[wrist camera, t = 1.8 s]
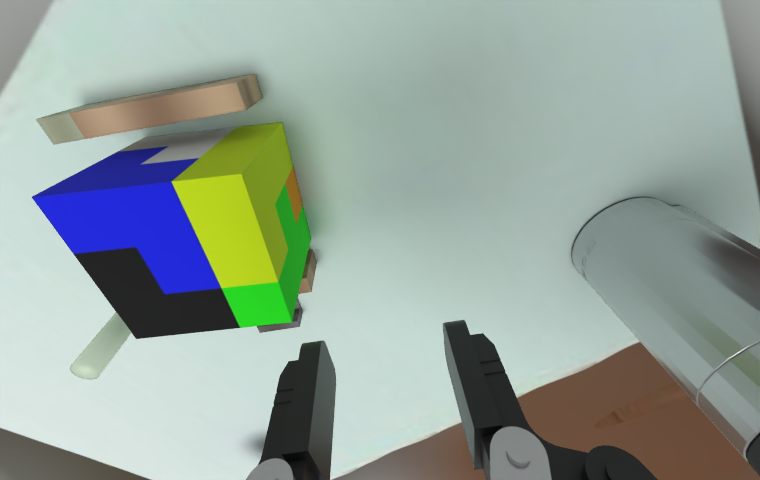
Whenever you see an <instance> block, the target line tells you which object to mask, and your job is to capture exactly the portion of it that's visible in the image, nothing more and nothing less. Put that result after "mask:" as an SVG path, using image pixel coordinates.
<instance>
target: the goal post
mask: <svg viewBox="0 0 760 480" xmlns="http://www.w3.org/2000/svg"><path fill="white" fill-rule="evenodd" d="M130 334H131V331H130V330H129V328H128V327H127V326H126V324H125V323H124V322H123V320H122V319H121V317H120V316H119V315H118V313H117V312H116V313H115V314H114V315H113V316H112V318H111V319H110V320H109V321H108V322H107V324H106V325H105V326H104V327H103V328H102V329H101V331H100V332H99V333H98V334H97V335H96V337H95V338H94V339H93V340H92V341H91V342H90V344H89V345H88V346H87V347H86V348H85V350H84V351H83V352H82V353H81V354H80V355H79V357H78V358H77V359H76V360H75V361H74V363H73V364H72V365H71V366H70V371H71V372H72V373H73V374H74V375H75V376H77V377H79V378H82V379H89V380H91V379H96V378H98V377H99V376H100V374H101V373H102V372H103V370H104V369H105V368H106V366H107V365H108V363H109V362H110V361H111V359H112V358H113V357H114V355H115V354H116V353H117V351H118V350H119V349H120V347H121V346H122V345H123V343H124V342H125V341H126V339H127V338H128V336H129V335H130Z"/></svg>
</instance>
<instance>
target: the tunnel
mask: <svg viewBox="0 0 760 480" xmlns="http://www.w3.org/2000/svg"><path fill="white" fill-rule="evenodd" d="M261 98H262V95H261V91H260V88H259V85H258V82H257V79H256V76H255V74H251V75H246V76H240V77H235V78H229V79H224V80H219V81H213V82H208V83H202V84H197V85H191V86H186V87H180V88H175V89H170V90H164V91H159V92H153V93H148V94H142V95H137V96H132V97H126V98H121V99H115V100H110V101H104V102H99V103H93V104H88V105H83V106H80V107H76V108H73V109H69V110H66V111H62V112H59V113H55V114H52V115H49V116H45V117H42V118H38V119H36V120H37V122H38V123H39V124H40V126H41V127H42V129H43V130H44V132H45V133H46V134H47V136H48V137H49V139H50V140H51V142H52V143H53V144H60V143H65V142H71V141H76V140H82V139H87V138H93V137H99V136H104V135H110V134H115V133H121V132H126V131H132V130H138V129H143V128H149V127H154V126H160V125H165V124H171V123H177V122H182V121H188V120H193V119H199V118H204V117H210V116H216V115H221V114H227V113H232V112H238V111H243V110H247V109H248V108H249V107H251V106H252V105H253V104H255V103H256V102H257V101H259V100H260V99H261ZM316 264H317V262H316V259H315V256H314V253H313V250H308V253H307V258H306V262H305V267H304V271H303V276H302V280H301V284H300V289H299V293H298V294H300V293H307V292H312V286H313V281H314V275H315V269H316ZM302 313H303V311H302V309H301V306H300V304H299V301H298V299H297V302H296V307H295V311H294V315H293V320H292V322H289V323H279V324H270V325H261V326H257V328H258V330H259V332H260V333H261V332H268V331H274V330H281V329H287V328H294V327H300V323H301V318H302Z"/></svg>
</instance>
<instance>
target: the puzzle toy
mask: <svg viewBox="0 0 760 480" xmlns="http://www.w3.org/2000/svg"><path fill="white" fill-rule="evenodd" d="M32 198H33V200H34V201H35V202H36V204H37V205H38V206H39V208H40V209H41V210H42V212H43V213H44V214H45V216H46V217H47V219H48V220H49V221H50V223H51V224H52V225H53V227H54V228H55V229H56V231H57V232H58V233H59V235H60V236H61V237H62V239H63V240H64V242H65V243H66V244H67V246H68V247H69V248H70V250H71V251H72V252H73V254H74V255H75V256H76V258H77V259H78V261H79V262H80V263H81V265H82V266H83V267H84V269H85V270H86V271H87V273H88V274H89V275H90V277H91V278H92V280H93V281H94V282H95V284H96V285H97V286H98V288H99V289H100V290H101V292H102V293H103V294H104V296H105V297H106V298H107V300H108V301H109V303H110V304H111V305H112V307H113V308H114V309H115V311H116V312H117V313H118V315H119V316H120V317H121V319H122V320H123V322H124V323H125V324H126V326H127V327H128V328H129V330H130V331H131V332H132V334H133V335H134V336H135V338H136V339H140V338H149V337H158V336H167V335H177V334H186V333H195V332H205V331H214V330H223V329H233V328H242V327H251V326H261V325H270V324H279V323H289V322H292V320H293V315H294V311H295V307H296V302H297V298H298V293H299V289H300V284H301V280H302V276H303V271H304V267H305V262H306V258H307V253H308V249H309V244H310V240H311V236H310V232H309V228H308V224H307V220H306V216H305V212H304V208H303V204H302V200H301V196H300V192H299V188H298V184H297V180H296V176H295V172H294V168H293V164H292V160H291V156H290V152H289V148H288V144H287V140H286V136H285V132H284V128H283V124H282V122H279V123H270V124H261V125H252V126H243V127H234V128H225V129H216V130H207V131H198V132H189V133H180V134H171V135H163V136H154V137H145V138H143V139H141V140H139V141H137V142H135V143H134V144H132V145H130V146H128V147H126V148H124V149H122V150H120V151H118V152H116V153H115V154H113V155H111V156H109V157H107V158H105V159H103V160H101V161H99V162H97V163H96V164H94V165H92V166H90V167H88V168H86V169H84V170H82V171H80V172H78V173H77V174H75V175H73V176H71V177H69V178H67V179H65V180H63V181H61V182H59V183H57V184H56V185H54V186H52V187H50V188H48V189H46V190H44V191H42V192H40V193H38V194H37V195H35V196H33V197H32Z"/></svg>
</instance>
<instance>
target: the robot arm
mask: <svg viewBox="0 0 760 480" xmlns="http://www.w3.org/2000/svg"><path fill="white" fill-rule="evenodd" d="M572 260H573V264H574V266H575V268H576V269H577V271H578V272H579V273H580V274H581V275H582V277H583V278H584V279H585V280H586V281H587V282H588V283H589V284H590V285H591V287H592V288H593V289H594V290H595V291H596V292H597V293H598V294H599V296H600V297H601V298H602V299H603V300H604V301H605V303H606V304H607V305H608V306H609V307H610V308H611V309H612V310H613V312H614V313H615V314H616V315H617V316H618V317H619V318H620V319H621V321H622V322H623V323H624V324H625V325H626V326H627V327H628V328H629V330H630V331H631V332H632V333H633V334H634V335H635V336H636V337H637V338H638V340H639V341H640V342H641V343H642V344H643V345H644V346H645V347H646V349H647V350H648V351H649V352H650V353H651V354H652V355H653V356H654V358H655V359H656V360H657V361H658V362H659V363H660V364H661V365H662V367H664V369H665V370H666V371H667V372H668V373H669V374H670V375H671V377H672V378H673V379H674V380H675V381H676V382H677V383H678V384H679V386H680V387H681V388H682V389H683V390H684V391H685V392H686V393H687V395H688V396H689V397H690V398H691V399H692V400H693V401H694V402H695V403H696V405H697V406H698V407H699V408H700V409H701V410H702V411H703V412H704V413H705V414H706V416H707V417H708V418H709V419H710V420H711V421H712V422H713V423H714V425H716V427H717V428H718V429H719V430H720V431H721V432H722V434H723V435H724V436H725V437H726V438H727V439H728V440H729V441H730V443H731V444H732V445H733V446H734V447H735V448H736V449H737V450H738V452H739V453H740V454H741V455H742V456H743V457H744V458H745V459H746V461H747V462H748V463H749V464H750V465H751V467H752V468H753V469H754V470H755V471H756V472H757V473H758V474H759V476H760V249H759V248H757V247H755V246H753V245H751V244H750V243H748V242H746V241H744V240H742V239H741V238H739V237H737V236H735V235H733V234H732V233H730V232H728V231H726V230H725V229H723V228H721V227H719V226H717V225H716V224H714V223H712V222H710V221H708V220H707V219H705V218H703V217H701V216H699V215H698V214H696V213H694V212H692V211H691V210H689V209H687V208H685V207H683V206H681V205H679V206H669V205H668V204H666V203H664V202H662V201H661V200H657V199H654V198H642V197H641V198H634V199H629V200H626V201H623V202H620V203H617V204H615V205H613V206H611V207H609V208H607V209H605V210H604V211H602V212H601V213H599V214H598V215H596V216H595V217H594V218H593V219H592V220H591V221H590V222H589V223H588V224H587V225H586V226H585V227H584V228H583V230H582V231H581V232H580V234H579V235H578V237H577V239H576V241H575V244H574V247H573V250H572ZM443 333H444V346H445V355H446V361H447V366H448V370H449V374H450V378H451V381H452V385H453V389H454V393H455V397H456V401H457V405H458V408H459V412H460V416H461V420H462V424H463V428H464V432H465V435H466V439H467V443H468V447H469V451H470V455H471V458H472V462H473V466H474V469H475V470H476V469H483V471H484V475H485V478H486V480H657V478H655V477H654V475H653V474H652V473H651V472H650V471H649V470H648V469H647V468H646V467H645V466H644V465H643V464H642V463H641V462H640V461H639V460H638V459H637V458H635V457H634V456H633V455H631V454H630V453H628V452H626V451H624V450H622V449H619V448H617V447H614V446H598V447H595V448H593V449H592V450H591V451H590V452H589V453H586V452H581V451H577V450H572V449H567V448H562V447H559V446H555V445H553V444H550V443H548V442H547V441H545V440H543V439H542V438H541V437H539V436H538V435H537V434H536V433H535V432H534V431H533V430H532V429H531V427H530V426H529V424H528V423H527V421H526V419H525V417H524V415H523V412H522V410H521V407H520V405H519V402H518V400H517V398H516V395H515V393H514V391H513V388H512V386H511V384H510V381H509V379H508V376H507V374H506V373H505V369H504V367H503V365H502V362H501V361H500V358H499V355H498V353H497V350H496V348H495V346H494V344H493V343H492V342H491V341H490V340H489V339H488V338H487V337H486V336H485V335H484V334H483V333H482V334H475V335H470V333H469V331H468V328H467V325H466V322H465V321H464V320H460V321H453V322H446V323H443ZM335 391H336V374H335V368H334V365H333V362H332V360H331V357H330V354H329V352H328V349H327V346H326V344H325V342H324V341H316V342H310V343H303V344H302V346H301V349H300V354H299V360H296V361H289V362H288V364H287V365H286V367H285V368H284V370H283V372H282V373H281V375H280V378H279V382H278V387H277V394H276V396H275V400H274V407H273V409H272V413H271V418H270V422H269V426H268V431H267V435H266V440H265V444H264V449H263V453H262V457H261V460H260V462H259V464H258V466H257V467H256V468H255V469H253V471H252V472H251V473H250V474H249V476H248V477H247V479H246V480H330V468H331V453H332V438H333V422H334V407H335Z"/></svg>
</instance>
